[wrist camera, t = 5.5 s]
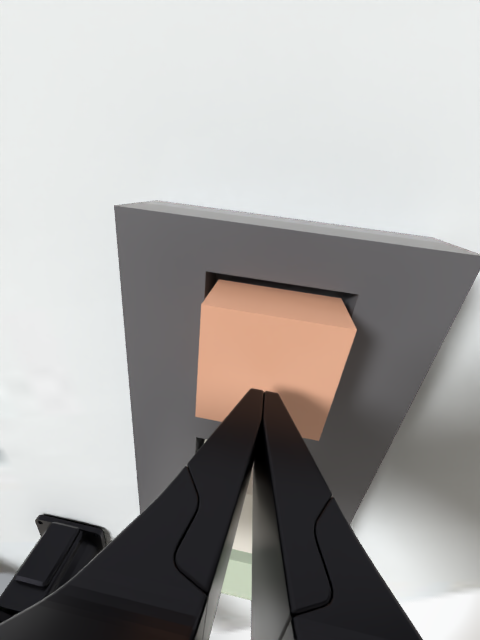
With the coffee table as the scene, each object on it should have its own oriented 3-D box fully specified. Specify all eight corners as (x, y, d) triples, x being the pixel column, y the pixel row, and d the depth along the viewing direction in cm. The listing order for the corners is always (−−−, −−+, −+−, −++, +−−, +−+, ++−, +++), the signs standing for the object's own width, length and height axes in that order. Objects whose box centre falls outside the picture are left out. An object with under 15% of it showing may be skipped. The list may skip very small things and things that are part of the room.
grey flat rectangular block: (301, 555, 23) (304, 613, 20) (163, 523, 24) (145, 574, 21) (432, 237, 12) (486, 256, 9) (156, 200, 13) (114, 205, 9)
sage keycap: (259, 557, 21) (256, 601, 19) (200, 543, 21) (190, 585, 19) (269, 523, 19) (267, 568, 17) (203, 508, 19) (192, 550, 17)
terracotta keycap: (312, 394, 12) (319, 440, 10) (210, 375, 13) (195, 416, 10) (341, 298, 10) (356, 329, 8) (218, 279, 11) (201, 304, 8)
